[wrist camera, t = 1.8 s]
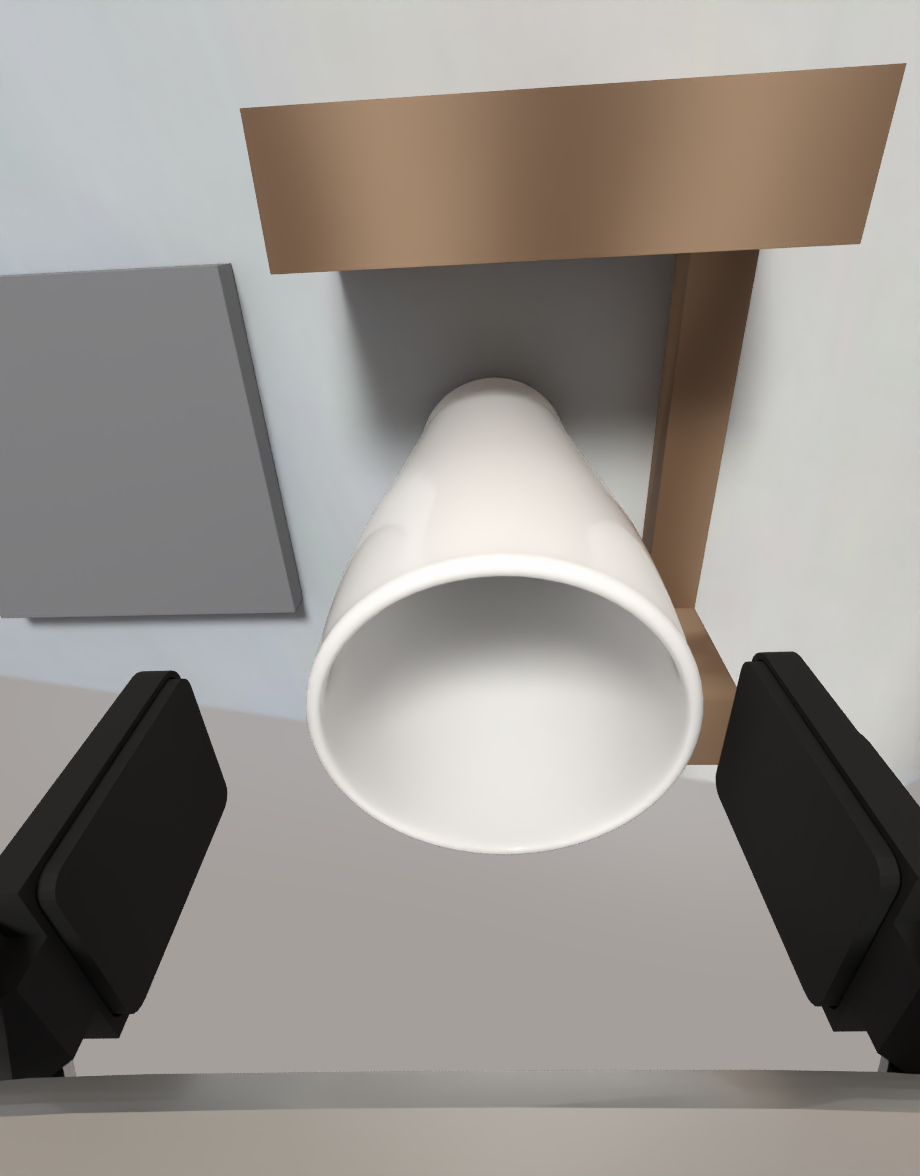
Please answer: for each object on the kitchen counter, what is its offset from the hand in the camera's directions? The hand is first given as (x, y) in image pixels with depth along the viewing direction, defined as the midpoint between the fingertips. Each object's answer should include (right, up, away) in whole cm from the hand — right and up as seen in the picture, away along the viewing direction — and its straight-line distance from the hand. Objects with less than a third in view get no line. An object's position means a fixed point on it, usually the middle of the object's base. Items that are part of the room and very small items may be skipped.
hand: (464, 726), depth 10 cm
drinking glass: (+1, +8, +13) cm, 15 cm away
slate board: (-14, +7, +13) cm, 21 cm away
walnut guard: (+3, +8, +12) cm, 15 cm away
